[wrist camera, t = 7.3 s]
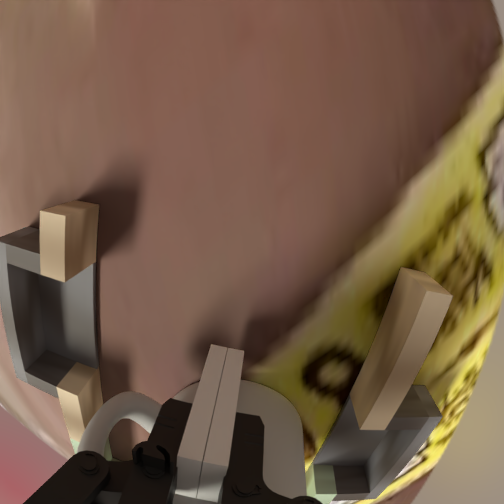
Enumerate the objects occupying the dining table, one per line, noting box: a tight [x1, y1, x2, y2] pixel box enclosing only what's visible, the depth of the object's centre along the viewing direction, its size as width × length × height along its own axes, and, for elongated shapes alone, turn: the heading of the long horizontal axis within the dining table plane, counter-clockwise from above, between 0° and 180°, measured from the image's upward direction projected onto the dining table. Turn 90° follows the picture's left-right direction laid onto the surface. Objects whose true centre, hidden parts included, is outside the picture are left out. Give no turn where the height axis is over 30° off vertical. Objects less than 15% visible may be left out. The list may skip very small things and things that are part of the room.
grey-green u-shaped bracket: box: [0, 200, 453, 504], centre depth 16 cm, size 22×25×3 cm
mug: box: [77, 380, 307, 504], centre depth 12 cm, size 12×8×11 cm
